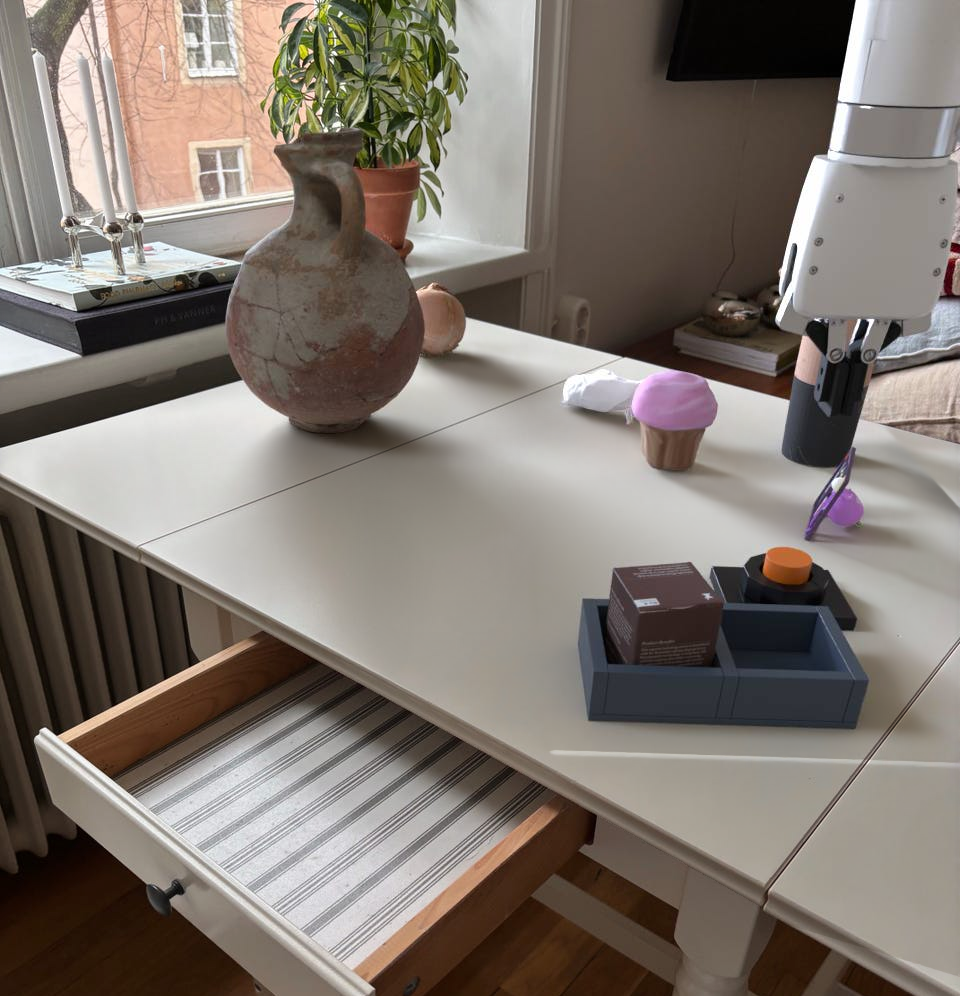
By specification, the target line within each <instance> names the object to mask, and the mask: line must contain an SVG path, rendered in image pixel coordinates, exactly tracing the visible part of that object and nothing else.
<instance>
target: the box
mask: <svg viewBox="0 0 960 996" xmlns="http://www.w3.org/2000/svg"><path fill="white" fill-rule="evenodd" d="M608 597H609V598H608V599H609V606H608V614H607V622H606V630H605V639H604V648H605V654H606V660H607V662H608V664H619V665H650V666H681V667H712V666H713V661H714V655H715V649H716V644H717V638H718V633H719V628H720V624H721V619H722V611H723V606H724V603H723V601H722V600H721V599H720V597H719V596H718V595H717V594H716V593H715V591H714V588H713V587H711V585H710V584H709V582H708V581H707V580H706V579H705V577H704V576H703V575H702V574H701V572H700V571H699V570H698V569H697V568H696V566H695V565H694V564H693V563H692V562H691V561H686V562H675V563H661V564H650V565H649V564H648V565H635V566H622V567H621V566H620V567H613V568H612V574H611V582H610V590H609V596H608Z"/></svg>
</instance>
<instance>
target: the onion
mask: <svg viewBox="0 0 960 996" xmlns="http://www.w3.org/2000/svg"><path fill="white" fill-rule="evenodd" d="M415 290H416V289H415ZM416 293H417V296H418V299H419V302H420V305H421V308H422V312H423V317H424V324H425V334H424V342H423V346H422V351H421V354H420V356H423V357H425V358H429V356H430V357H437V356H443V357H445V354H446V353H447V354H448V355H450V354H453V351H454V350H457V348H458V347H459V346H460V342H462V340H463V338H464V335H465V332H466V329H467V328H466V327H467V319H466V313H465V309H464V307H463V305H462V303H461V302H460V301H459V300H458V299H457V297H455V296H454V295H453V294H452V293H451V292H450V291H449V289H448V288H446V287H445V286H444V285H442V284H441V283H438V282H432V283H431V284H430V285H429V284H427V285H424V287H421V288H419V289H417V290H416Z"/></svg>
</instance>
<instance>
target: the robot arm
mask: <svg viewBox="0 0 960 996" xmlns="http://www.w3.org/2000/svg"><path fill="white" fill-rule="evenodd" d="M844 58H845V59H844V63H843V68H842V74H841V80H840V85H839V91H838V97H837V102H836V107H835V112H834V118H833V124H832V129H831V135H830V140H829V144H828V151H827V154H817V155H815V156H813V159H812V161H811V164H810V167H809V170H808V172H807V175H806V178H805V181H804V184H803V187H802V190H801V193H800V196H799V200H798V203H797V207H796V210H795V213H794V217H793V221H792V224H791V229H790V233H789V237H788V242H787V245H786V249H785V254H784V257H783V262H782V267H781V272H780V279H779V284H778V292H779V295H780V298H781V299H782V301H781V304H780V306H779V309H778V310H777V312H776V316H775V318H774V322H775V324H776V325H777V326H778V327H779V329H780V330H782V331H783V332H787V333H791V334H794V335H799V336H801V337H802V336H807V337H809V338H810V340H811V341H812V342H813V343H814V345H815V346H816V347H817V348H818V350H819V351H820V352H821V353H822V354H821V359H820V364H819V369H818V374H817V379H816V384H815V390H814V398H815V400H816V401H817V402H818V405H819V407H820V408H821V409H822V410H823V411H824V413H825V414H826V415H827V416H828V417H836V416H837V415H841V416H842V417H851V416H852V412H853V408H854V403H855V402H856V403H858V402H859V401H860V399H861V396H862V391H863V387H864V382H865V378H866V374H867V369H868V365H869V363H872V362H874V361H876V360H877V359H878V356H879V354H880V353H881V352H882V351H884V350H885V349H886V348H888V346H890V345H891V344H892V343H893V342H895V341H896V340H897V339H898V338H905V337H909V336H913V335H919V334H923V333H926V332H928V331H929V330H930V329H931V327H932V312H933V311H934V310H935V308H936V306H937V304H938V302H939V299H940V296H941V293H942V289H943V285H944V282H945V281H944V280H945V276H946V273H947V267H948V263H949V257H950V252H951V246H952V240H953V233H954V229H955V228H954V227H955V219H956V212H957V211H956V210H957V199H958V183H959V182H958V181H959V179H958V178H959V162H957V161H955V160H953V159H951V155H952V153H954V154H955V152H956V148H957V145H958V143H960V0H855V3H854V9H853V15H852V20H851V26H850V31H849V35H848V42H847V48H846V53H845V57H844ZM817 318H818V319H817ZM847 319H858V321H857V324H856V327H855V329H854V332H853V335H852V338H851V340H850V343H849V346H848V347H847V351H845V341H846V324H847ZM874 363H875V362H874Z"/></svg>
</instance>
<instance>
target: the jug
mask: <svg viewBox="0 0 960 996" xmlns="http://www.w3.org/2000/svg"><path fill="white" fill-rule="evenodd" d="M363 136H364V131H363V130H362V129H360V128H358V127H340V128H339V130H338V131H325V132H322V131H321V132H318V131H317V132H307V133H305V132H303V133H302V134H300V135H299V136H298V137H297V138H295V139H294V141H293V142H291V143H283V144H282V143H281V144H276V145H275V146H274V148H273V153H274V155H275V156H276V157H277V159H278V160H279V162H280V163H279V164H280V166H281V167H282V168H283V169H284V170H285V171H286V173H287V175H288V176H289V178H290V180H291V184H292V189H293V203H292V208H291V212H290V216H289V218H288V219H287V220H286V221H285V222H284V223H283V224H282V225H281V226H279V227H277V228H275V229H273V230H272V231H270V232H269V233H268V234H267V235H266V236H264V237H263V238H262V239H261V240H259V241H258V242H257V243H255V244H254V245H253V246H252V247H250V248H249V249H248V250H247V251H246V252H245V254H244V257H243V259H242V263H241V266H240V268H239V271H238V274H237V276H236V278H235V280H234V282H233V285H232V288H231V291H230V294H228V296H229V297H228V300H227V301H228V302H227V307H226V313H225V322H224V324H225V337H226V342H227V348H228V353H229V356H230V358H231V361H232V364H233V366H234V368H235V370H236V372H237V373H238V375H239V376H240V378H241V380H242V382H244V384H245V385H246V386H247V388H248V389H249V390H250V392H251V393H252V395H254V396H255V397H256V398H258V399H259V400H260V401H261V402H262V403H263V404H265V405H266V406H268V407H269V408H270V409H273V410H274V411H276V412H277V413H279V414H281V415H283V416H285V417H287V418H288V421H289V423H290V424H292V425H293V426H295V427H297V428H299V429H302V430H303V431H306V432H310V433H324V434H330V433H331V434H339V433H343V432H347V431H351V430H354V429H357V428H358V427H360V425H361V424H364V423H366V421H367V420H368V419H370V418H371V417H372V414H374V413H376V412H378V411H380V410H381V409H382V408H384V407H386V406H387V405H388V404H389V403H391V402H392V401H393V400H394V399H396V397H398V395H400V393H401V392H402V391H403V390H404V389H405V387H406V386H407V385H408V384H409V382H410V380H411V378H412V377H413V375H414V373H415V371H416V369H417V366H418V364H419V362H420V358H421V355H420V354H421V351H422V346H423V342H424V334H425V324H424V317H423V312H422V308H421V305H420V302H419V299H418V296H417V293H416V288H415V286H414V283H413V281H412V279H411V277H410V274H409V272H408V270H407V269H406V267H405V265H404V263H403V260H402V259H401V257H400V254H399V252H398V250H396V249H395V248H394V247H393V246H392V245H390V244H389V243H388V242H386V241H384V240H383V239H381V238H380V237H378V236H377V235H376V234H374V233H373V232H372V231H370V230H369V229H367V228H366V223H367V216H366V215H367V213H366V211H367V210H366V199H365V194H364V188H363V185H362V181H361V180H360V178H359V175H358V174H357V172H356V170H355V169H354V164H355V159H356V157H357V155H358V154H359V153H361V152H362V151H363V149H364V143H363V142H364V141H363Z"/></svg>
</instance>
